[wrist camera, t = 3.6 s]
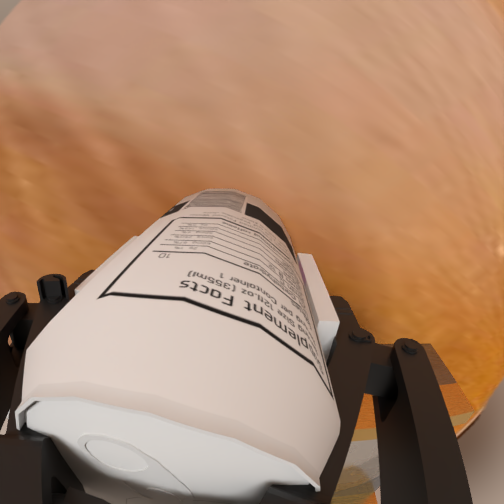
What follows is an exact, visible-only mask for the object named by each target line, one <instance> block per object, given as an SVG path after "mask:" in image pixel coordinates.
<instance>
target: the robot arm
mask: <svg viewBox="0 0 504 504" xmlns="http://www.w3.org/2000/svg"><path fill="white" fill-rule="evenodd" d="M137 237H139V236H134V237H132V238H131V239H130V240H129V241H128V242H127V243H125V244H124V245H123V246H122V247H121V248H120V249H118V250H117V251H116V252H115V253H114V254H113V255H112V256H111V257H109V258H108V259H107V260H106V261H105V262H104V263H103V264H102V265H100V266H99V267H98V268H97V269H96V270H90V271H88V272H86V273H84V274H82V275H81V276H80V277H79V278H78V279H77V280H76V281H75V282H74V283H72V284H71V285H70V286H69V287H68V288H67V282H66V277H65V276H63V275H60V274H49V275H46V276H43V277H41V278H40V279H39V280H38V281H37V286H38V291H39V295H40V303H27V299H26V295H25V294H24V293H21V292H13V293H12V292H11V293H9V294H7V295H5V296H4V297H3V298H1V299H0V430H1V428H2V425H3V423H4V421H5V419H6V416H7V414H8V412H9V410H10V413H9V419H8V425H7V431H6V434H5V435H0V504H110V503H109V502H107V501H105V500H104V499H101V498H98V497H95V496H93V495H90V494H87V493H86V492H85V490H84V487H83V485H82V483H81V482H80V481H79V479H78V478H77V477H76V475H75V474H74V472H73V471H72V470H71V468H70V467H69V465H68V464H67V462H66V461H65V459H64V458H63V456H62V455H61V453H60V452H59V450H58V449H57V447H56V446H55V444H54V442H53V441H52V439H51V438H50V437H49V436H46V435H43V434H41V433H38V432H36V431H34V430H32V429H30V428H28V427H27V423H26V422H25V423H24V424H23V426H22V428H21V429H20V430H18V429H17V427H16V418H15V411H16V409H17V408H18V406H19V405H20V404H21V402H22V387H23V376H24V366H25V358H26V350H27V349H28V348H29V346H30V345H31V344H32V343H33V341H34V340H35V339H36V338H37V336H38V335H39V334H40V333H41V332H42V330H43V329H44V328H45V327H46V326H47V324H48V323H49V322H50V321H51V320H52V319H53V318H54V317H55V316H56V315H57V314H58V313H59V312H60V311H61V310H62V309H63V308H64V307H65V306H66V305H67V304H68V303H69V301H70V300H71V299H72V298H73V297H74V296H75V295H76V294H77V293H79V292H80V291H81V290H82V289H83V288H84V287H85V286H86V285H87V284H88V283H89V282H90V281H91V280H92V279H93V278H94V277H95V276H96V275H97V274H98V273H99V272H100V271H101V270H102V269H103V268H104V267H106V266H107V265H108V264H109V263H110V262H111V261H112V260H113V259H114V258H115V257H116V256H117V255H119V254H120V253H121V252H122V251H123V250H124V249H125V248H126V247H127V246H128V245H130V244H131V243H132V242H133V241H134V240H135V239H136V238H137ZM297 262H298V265H299V269H300V272H301V276H302V279H303V282H304V286H305V289H306V293H307V296H308V300H309V303H310V307H311V310H312V314H313V317H314V321H315V325H316V328H317V332H318V335H319V339H320V343H321V347H322V350H323V354H324V358H325V362H326V365H327V369H328V373H329V377H330V381H331V385H332V389H333V393H334V397H335V401H336V405H337V409H338V413H339V417H340V433H339V436H338V438H337V441H336V443H335V445H334V447H333V450H332V452H331V454H330V456H329V458H328V460H327V463H326V465H325V467H324V469H323V471H322V473H321V475H320V477H319V480H320V491H317V492H316V491H315V487H314V486H313V485H311V484H310V483H309V484H308V485H276V484H272V485H271V486H270V487H269V488H268V490H267V491H266V493H265V495H264V496H263V498H262V499H261V501H260V503H259V504H331V500H332V497H333V495H334V492H335V489H336V486H337V484H338V481H339V478H340V475H341V472H342V469H343V466H344V463H345V460H346V457H347V454H348V451H349V448H350V444H351V441H352V438H353V434H354V431H355V427H356V423H357V420H358V416H359V412H360V408H361V404H362V400H363V396H364V393H365V394H370V395H372V398H373V406H374V414H375V423H376V433H377V444H378V456H379V471H380V489H381V490H380V491H381V504H473V503H472V498H471V493H470V488H469V484H468V480H467V475H466V471H465V467H464V464H463V459H462V456H461V452H460V449H459V445H458V441H457V438H456V435H455V431H454V428H453V425H452V422H451V419H450V416H449V413H448V410H447V407H446V404H445V401H444V398H443V395H442V392H441V390H440V387H439V384H438V381H437V379H436V376H435V374H434V371H433V368H432V366H431V363H430V361H429V358H428V356H427V353H426V351H425V349H424V348H423V346H422V345H421V344H420V343H418V342H417V341H414V340H413V339H408V338H401V339H398V340H396V342H395V343H394V345H393V347H389V346H384V345H380V344H377V343H375V339H374V337H373V335H372V334H371V333H369V332H368V331H367V330H364V329H361V328H360V326H359V324H358V322H357V320H356V318H355V316H354V315H353V312H352V310H351V308H350V306H349V304H348V302H347V301H346V300H344V299H343V298H342V297H339V296H329V294H328V292H327V289H326V287H325V285H324V282H323V280H322V277H321V275H320V273H319V270H318V268H317V266H316V263H315V261H314V259H313V257H312V254H304V253H298V254H297ZM9 335H10V337H11V340H12V343H11V345H10V346H9V344H8V337H9Z"/></svg>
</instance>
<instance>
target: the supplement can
mask: <svg viewBox="0 0 504 504" xmlns="http://www.w3.org/2000/svg"><path fill="white" fill-rule="evenodd" d="M15 418H16V427H17V429H18V430H20V429H21V428H22V426H23V424H24V423H25V422H26V423H27V427H28V428H30V429H32V430H34V431H36V432H38V433H41V434H43V435H46V436H49V437H50V438H51V439H52V441H53V442H54V444H55V446H56V447H57V449H58V450H59V452H60V453H61V455H62V456H63V458H64V459H65V461H66V462H67V464H68V465H69V467H70V468H71V470H72V471H73V472H74V474H75V475H76V477H77V478H78V479H79V481H80V482H81V483H82V485H83V487H84V490H85V492H86V493H87V494H90V495H93V496H95V497H98V498H101V499H104V500H105V501H107V502H109V503H110V504H259V503H260V501H261V499H262V498H263V496H264V495H265V493H266V491H267V490H268V488H269V487H270V486H271V485H272V484H276V485H308V484H309V483H310V484H311V485H313V486H314V487H315V491H316V492H317V491H320V480H319V477H320V475H321V473H322V471H323V469H324V467H325V465H326V463H327V460H328V458H329V456H330V454H331V452H332V450H333V447H334V445H335V443H336V441H337V438H338V436H339V433H340V417H339V413H338V409H337V405H336V401H335V397H334V393H333V389H332V385H331V381H330V377H329V373H328V369H327V365H326V362H325V358H324V354H323V350H322V347H321V343H320V339H319V335H318V332H317V328H316V325H315V321H314V317H313V314H312V310H311V307H310V303H309V300H308V296H307V293H306V289H305V286H304V282H303V279H302V276H301V272H300V269H299V265H298V262H297V259H296V255H295V252H294V249H293V245H292V242H291V239H290V236H289V234H288V232H287V230H286V229H285V227H284V225H283V223H282V221H281V219H280V217H279V215H278V214H276V213H275V212H274V211H273V210H272V209H271V208H270V207H269V206H267V205H266V204H265V203H264V202H263V201H262V200H261V199H259V198H257V197H255V196H252V195H249V194H247V193H244V192H242V191H239V190H236V189H206V190H203V191H201V192H198V193H195V194H192V195H190V196H187V197H185V198H184V199H182V200H181V201H180V202H179V203H177V204H176V205H175V206H174V207H173V208H171V209H170V210H169V211H168V212H167V213H165V214H164V215H163V216H162V217H161V218H159V219H158V220H157V221H156V222H155V223H154V224H152V225H151V226H150V227H149V228H148V229H147V230H145V231H144V232H143V233H142V234H141V235H140V236H139V237H137V238H136V239H135V240H134V241H133V242H132V243H131V244H130V245H128V246H127V247H126V248H125V249H124V250H123V251H122V252H121V253H120V254H119V255H117V256H116V257H115V258H114V259H113V260H112V261H111V262H110V263H109V264H108V265H107V266H106V267H104V268H103V269H102V270H101V271H100V272H99V273H98V274H97V275H96V276H95V277H94V278H93V279H92V280H91V281H90V282H89V283H88V284H87V285H86V286H85V287H84V288H83V289H82V290H81V291H80V292H79V293H77V294H76V295H75V296H74V297H73V298H72V299H71V300H70V301H69V303H68V304H67V305H66V306H65V307H64V308H63V309H62V310H61V311H60V312H59V313H58V314H57V315H56V316H55V317H54V318H53V319H52V320H51V321H50V322H49V323H48V324H47V326H46V327H45V328H44V329H43V330H42V332H41V333H40V334H39V335H38V336H37V338H36V339H35V340H34V341H33V343H32V344H31V345H30V346H29V348H28V349H27V350H26V358H25V366H24V376H23V387H22V402H21V404H20V405H19V406H18V408H17V409H16V411H15Z"/></svg>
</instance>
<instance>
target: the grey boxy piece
mask: <svg viewBox="0 0 504 504" xmlns="http://www.w3.org/2000/svg"><path fill="white" fill-rule="evenodd" d="M380 345H384V346H389V347H393V345H394V344H380ZM421 345H422V346H423V348H424V349H425V351H426V353H427V356H428V358H429V361H430V363H431V366H432V368H433V371H434V374H435V376H436V379H437V381H438V384H439V387H440V390H441V392H442V395H443V398H444V401H445V404H446V407H447V410H448V413H449V416H450V419H451V422H452V425H453V426H456V425H460V424H464V423H466V422H467V421H468V419H469V418H470V417H471V415H472V414H473V413H474V409H473V408H472V406H471V404H470V403H469V401H468V399H467V398H466V396H465V395H464V393H463V392H462V390H461V388H460V387H459V385H458V384H457V382H456V381H455V379H454V378H453V376H452V375H451V373H450V372H449V370H448V369H447V367H446V366H445V364H444V363H443V361H442V360H441V358H440V357H439V355H438V354H437V352H436V351H435V350H434V348H433V347H432V345H431V344H421ZM379 486H380V471H379V456H378V444H377V433H376V423H375V414H374V406H373V398H372V395H370V394H365V393H364V396H363V400H362V404H361V408H360V412H359V416H358V420H357V423H356V427H355V431H354V434H353V438H352V441H351V444H350V448H349V451H348V454H347V457H346V460H345V463H344V466H343V469H342V472H341V475H340V478H339V481H338V484H337V486H336V489H335V492H334V495H333V497H332V500H331V504H377V500H376V496H375V490H377V488H378V487H379Z"/></svg>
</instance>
